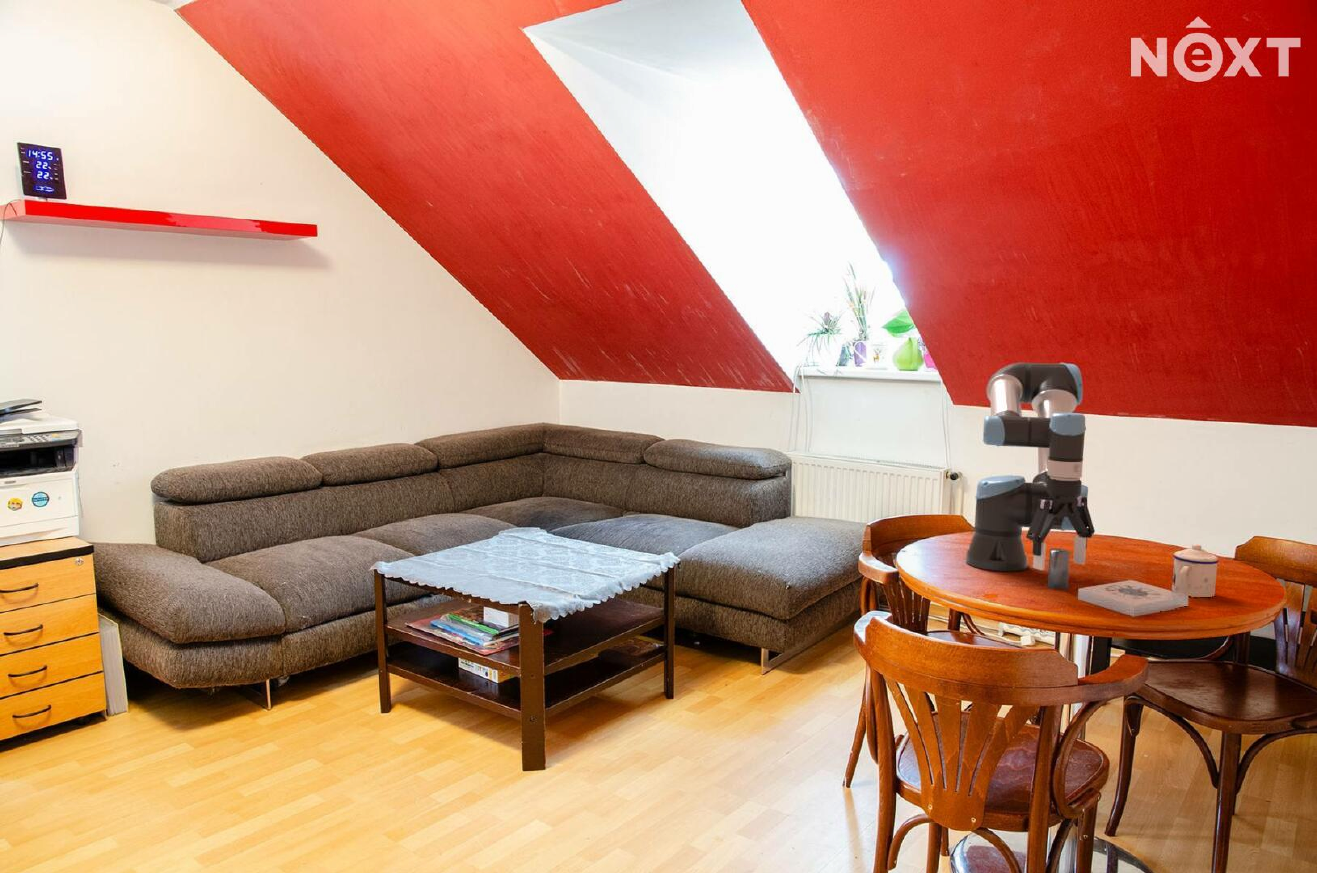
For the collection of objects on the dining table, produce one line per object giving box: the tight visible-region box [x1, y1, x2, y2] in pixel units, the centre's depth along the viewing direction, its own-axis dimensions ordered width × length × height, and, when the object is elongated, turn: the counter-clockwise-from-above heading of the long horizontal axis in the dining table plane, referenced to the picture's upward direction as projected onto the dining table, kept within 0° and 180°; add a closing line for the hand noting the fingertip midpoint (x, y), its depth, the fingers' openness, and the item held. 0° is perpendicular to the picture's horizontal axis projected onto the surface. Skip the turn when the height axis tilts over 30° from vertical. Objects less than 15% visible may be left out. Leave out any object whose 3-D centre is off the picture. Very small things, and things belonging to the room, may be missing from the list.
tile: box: [1077, 579, 1189, 617], centre depth 203 cm, size 14×18×2 cm
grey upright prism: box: [1047, 547, 1071, 591], centre depth 214 cm, size 4×4×9 cm
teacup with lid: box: [1171, 543, 1219, 598], centre depth 209 cm, size 12×9×12 cm
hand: (1059, 566), depth 214 cm, fingers open, 13 cm apart
